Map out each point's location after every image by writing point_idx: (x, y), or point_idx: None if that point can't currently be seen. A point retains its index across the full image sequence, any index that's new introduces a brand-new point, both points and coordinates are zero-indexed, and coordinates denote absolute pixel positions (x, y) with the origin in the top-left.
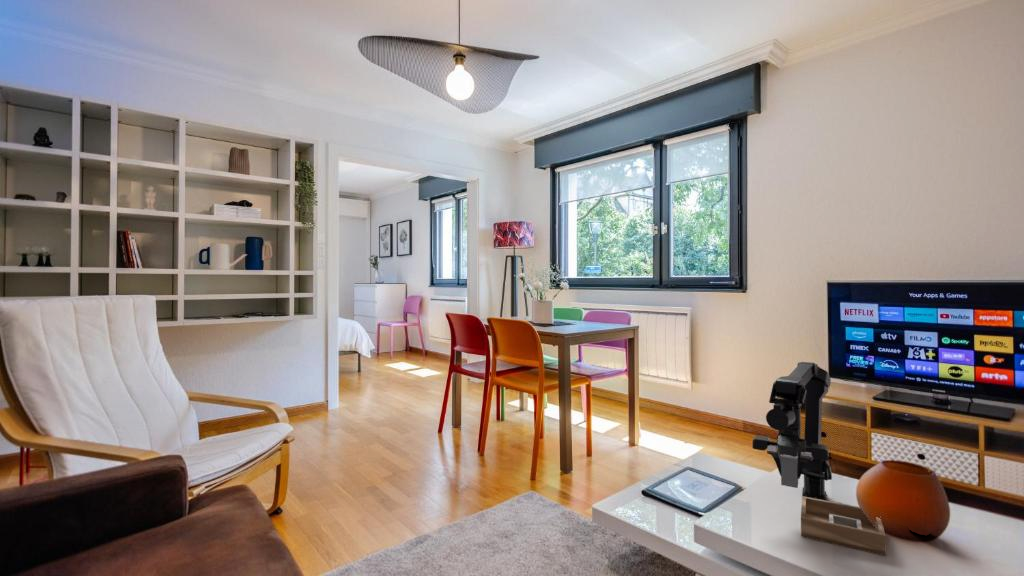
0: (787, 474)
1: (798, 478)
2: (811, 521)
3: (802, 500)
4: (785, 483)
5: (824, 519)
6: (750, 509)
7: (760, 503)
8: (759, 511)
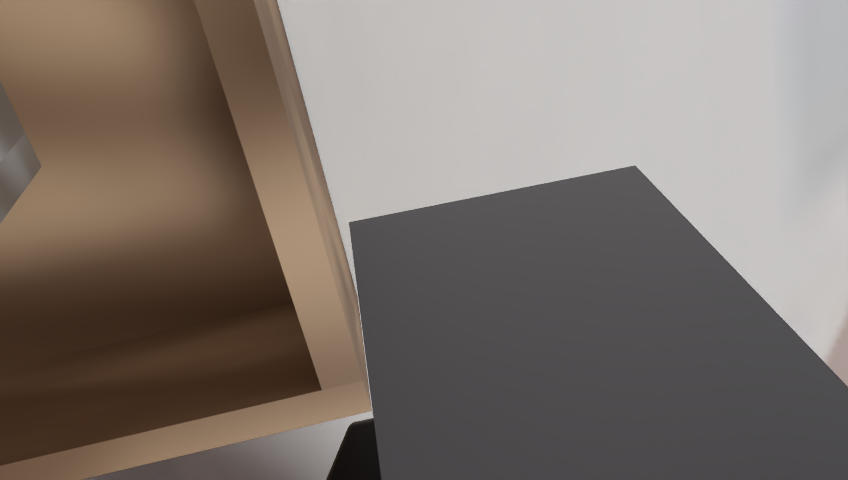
0: (611, 333)
1: (368, 424)
2: None
3: (332, 301)
4: (575, 202)
5: (125, 248)
6: (787, 34)
7: (706, 239)
8: (702, 51)
